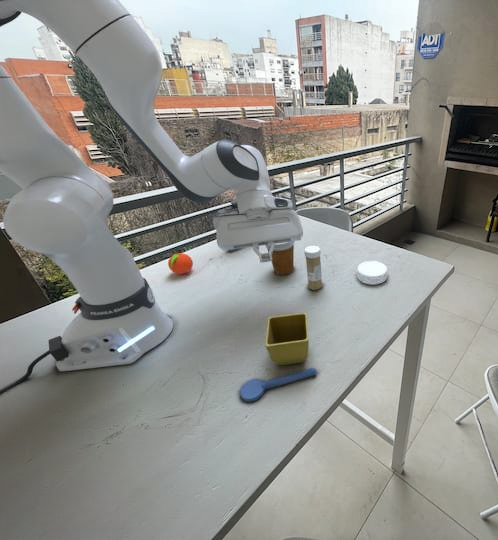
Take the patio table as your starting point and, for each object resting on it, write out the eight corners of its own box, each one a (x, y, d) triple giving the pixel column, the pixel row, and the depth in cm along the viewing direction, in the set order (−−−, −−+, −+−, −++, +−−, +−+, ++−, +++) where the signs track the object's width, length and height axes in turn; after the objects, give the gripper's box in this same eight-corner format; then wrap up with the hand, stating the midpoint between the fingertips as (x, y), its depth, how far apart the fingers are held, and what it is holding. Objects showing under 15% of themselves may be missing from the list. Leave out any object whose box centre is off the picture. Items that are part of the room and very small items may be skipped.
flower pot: (312, 368, 63) (308, 340, 58) (271, 374, 62) (264, 346, 57) (309, 339, 71) (306, 312, 66) (273, 344, 69) (267, 316, 64)
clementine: (187, 280, 91) (179, 261, 88) (165, 279, 92) (157, 260, 88) (199, 267, 98) (193, 249, 94) (179, 266, 98) (172, 248, 94)
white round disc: (380, 266, 100) (380, 258, 98) (391, 282, 92) (392, 273, 90) (353, 271, 97) (353, 262, 95) (362, 287, 89) (362, 278, 87)
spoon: (241, 404, 56) (239, 400, 55) (241, 385, 59) (239, 380, 59) (318, 381, 61) (318, 376, 60) (314, 364, 64) (313, 360, 63)
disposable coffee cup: (302, 272, 96) (299, 240, 90) (275, 280, 92) (269, 248, 85) (291, 260, 103) (287, 229, 97) (265, 267, 98) (259, 236, 92)
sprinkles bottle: (305, 285, 90) (301, 248, 82) (317, 280, 92) (314, 243, 85) (313, 292, 87) (310, 254, 80) (325, 286, 90) (323, 249, 82)
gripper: (208, 207, 65) (217, 264, 63) (297, 199, 72) (308, 251, 69) (214, 218, 71) (222, 271, 69) (296, 210, 78) (306, 258, 75)
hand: (266, 261), depth 69 cm, fingers closed
